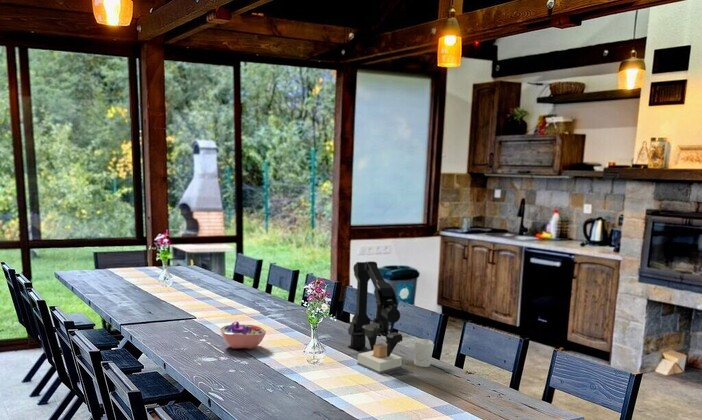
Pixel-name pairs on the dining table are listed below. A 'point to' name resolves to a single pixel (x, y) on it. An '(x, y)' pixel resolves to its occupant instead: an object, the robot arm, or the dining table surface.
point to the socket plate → (379, 362)
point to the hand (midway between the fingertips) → (380, 353)
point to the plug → (380, 351)
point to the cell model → (242, 335)
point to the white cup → (422, 352)
